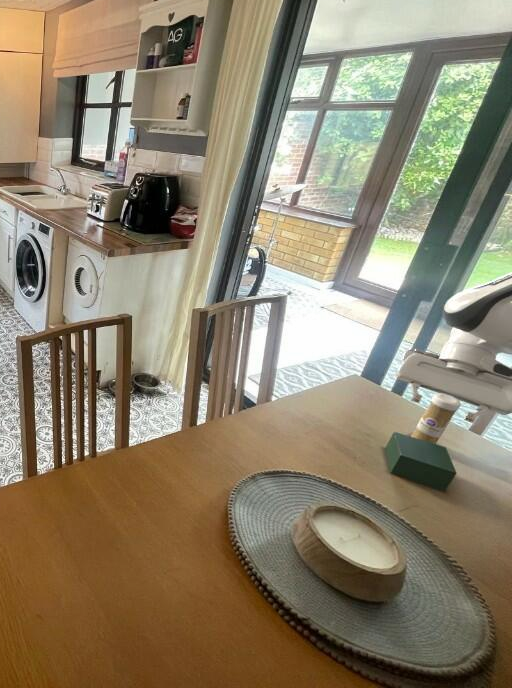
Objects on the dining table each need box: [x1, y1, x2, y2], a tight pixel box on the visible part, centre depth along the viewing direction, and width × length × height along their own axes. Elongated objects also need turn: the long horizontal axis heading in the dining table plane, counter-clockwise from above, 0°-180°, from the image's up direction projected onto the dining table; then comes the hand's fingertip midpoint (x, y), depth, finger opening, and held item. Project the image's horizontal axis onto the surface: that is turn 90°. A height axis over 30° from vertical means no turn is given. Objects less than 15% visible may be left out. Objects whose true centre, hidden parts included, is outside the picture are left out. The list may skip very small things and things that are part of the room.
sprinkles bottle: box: [410, 392, 462, 445], centre depth 99 cm, size 5×5×13 cm
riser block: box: [384, 431, 457, 492], centre depth 93 cm, size 9×9×6 cm
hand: (440, 410), depth 99 cm, fingers open, 8 cm apart
